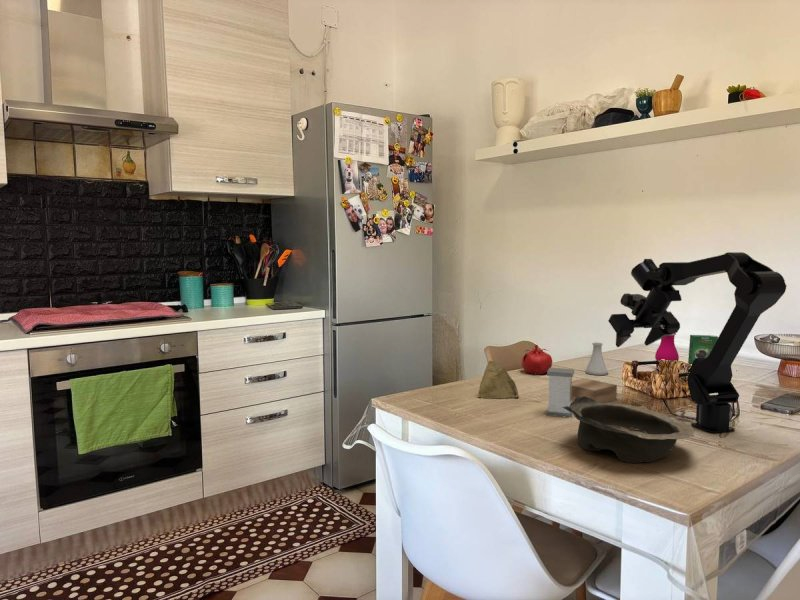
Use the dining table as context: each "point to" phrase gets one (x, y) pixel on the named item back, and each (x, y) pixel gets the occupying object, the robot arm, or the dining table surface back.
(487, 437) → the dining table surface
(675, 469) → the dining table surface
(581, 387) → the stand
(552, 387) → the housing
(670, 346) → the pepper mill
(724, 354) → the robot arm
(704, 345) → the coffee box
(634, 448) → the stone bowl
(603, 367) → the flask
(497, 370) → the rock
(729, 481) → the dining table surface
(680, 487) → the dining table surface
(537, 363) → the pomegranate
